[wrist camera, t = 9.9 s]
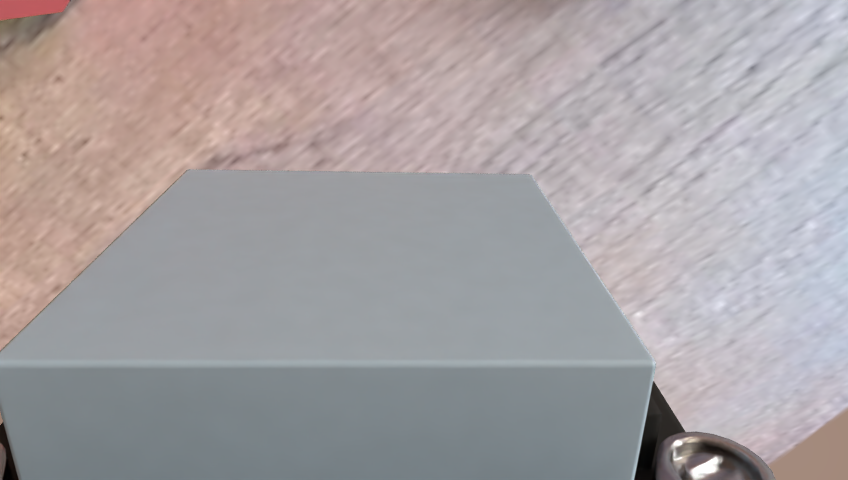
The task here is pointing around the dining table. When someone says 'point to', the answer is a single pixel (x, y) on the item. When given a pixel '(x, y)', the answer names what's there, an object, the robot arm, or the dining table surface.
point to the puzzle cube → (30, 8)
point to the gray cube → (332, 340)
